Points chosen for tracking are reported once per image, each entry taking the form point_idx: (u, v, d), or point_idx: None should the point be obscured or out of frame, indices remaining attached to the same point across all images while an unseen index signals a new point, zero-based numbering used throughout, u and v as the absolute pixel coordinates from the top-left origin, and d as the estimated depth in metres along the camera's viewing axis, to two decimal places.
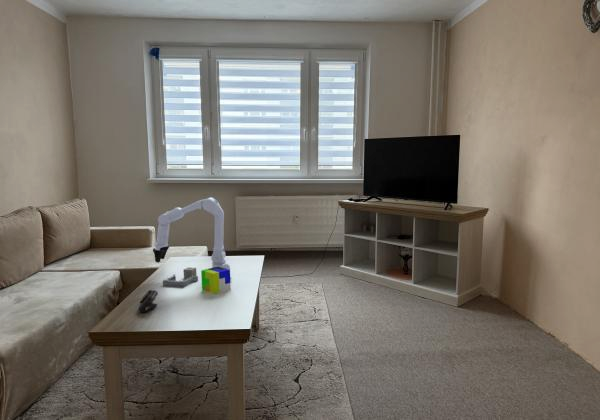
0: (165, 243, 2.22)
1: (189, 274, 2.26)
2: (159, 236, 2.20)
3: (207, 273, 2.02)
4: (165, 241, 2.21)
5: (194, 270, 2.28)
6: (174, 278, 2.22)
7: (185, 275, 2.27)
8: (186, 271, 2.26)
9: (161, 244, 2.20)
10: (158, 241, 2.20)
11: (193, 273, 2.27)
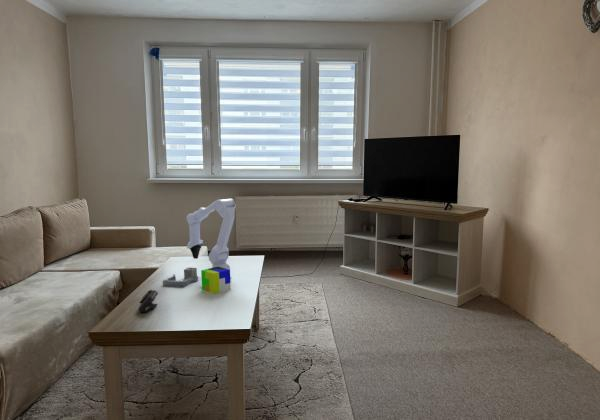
0: (197, 241, 2.32)
1: (189, 274, 2.26)
2: (190, 235, 2.31)
3: (207, 273, 2.02)
4: (197, 239, 2.31)
5: (194, 270, 2.28)
6: (174, 278, 2.22)
7: (185, 275, 2.27)
8: (186, 271, 2.26)
9: (193, 242, 2.31)
10: (190, 240, 2.32)
11: (193, 273, 2.27)
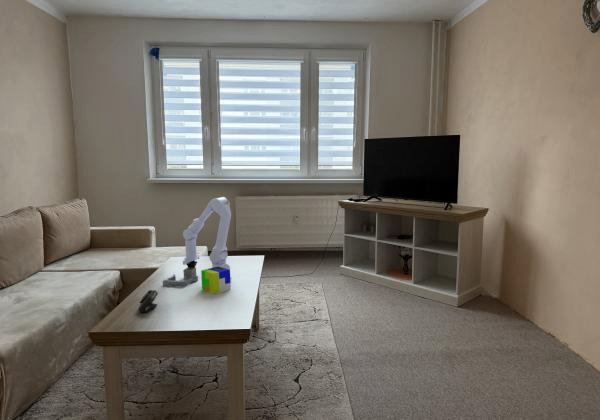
0: (193, 257, 2.28)
1: (189, 274, 2.25)
2: (186, 251, 2.27)
3: (207, 273, 2.02)
4: (193, 255, 2.28)
5: (194, 270, 2.27)
6: (174, 278, 2.22)
7: (185, 275, 2.26)
8: (186, 271, 2.25)
9: (189, 258, 2.27)
10: (186, 256, 2.28)
11: (193, 273, 2.26)
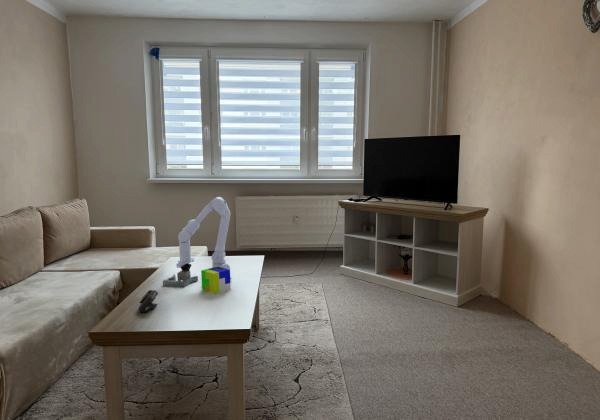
0: (187, 260, 2.22)
1: (183, 278, 2.19)
2: (180, 253, 2.21)
3: (207, 273, 2.02)
4: (187, 258, 2.21)
5: (188, 273, 2.21)
6: (174, 278, 2.22)
7: (179, 279, 2.19)
8: (180, 275, 2.19)
9: (183, 261, 2.21)
10: (180, 258, 2.21)
11: (187, 276, 2.20)
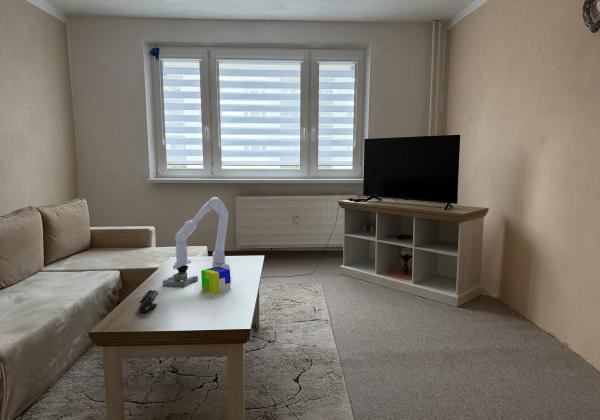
0: (184, 261, 2.18)
1: (180, 280, 2.15)
2: (177, 255, 2.18)
3: (207, 273, 2.02)
4: (184, 259, 2.18)
5: (185, 275, 2.18)
6: None
7: None
8: (176, 277, 2.15)
9: (180, 263, 2.17)
10: (177, 260, 2.18)
11: (184, 278, 2.17)
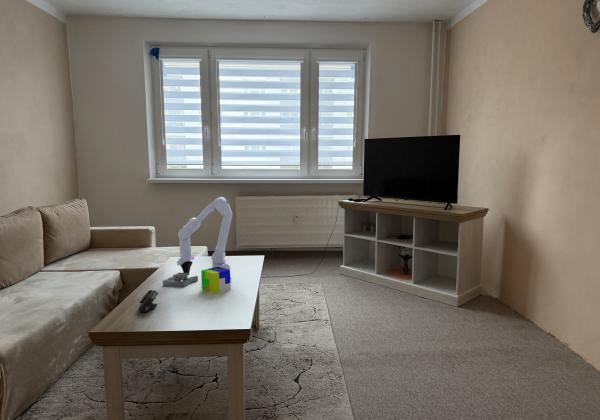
0: (188, 257, 2.22)
1: (180, 280, 2.15)
2: (181, 251, 2.21)
3: (207, 273, 2.02)
4: (187, 255, 2.21)
5: (185, 275, 2.18)
6: None
7: None
8: (177, 277, 2.16)
9: (184, 259, 2.21)
10: (181, 256, 2.22)
11: (184, 279, 2.17)
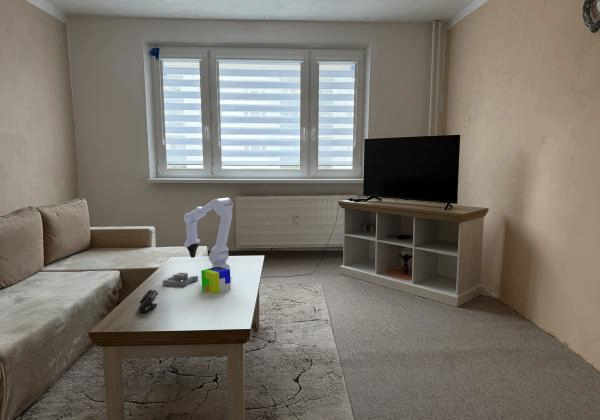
0: (194, 240, 2.33)
1: (180, 280, 2.15)
2: (187, 234, 2.32)
3: (207, 273, 2.02)
4: (194, 238, 2.32)
5: (185, 275, 2.17)
6: None
7: None
8: (177, 277, 2.15)
9: (190, 241, 2.32)
10: (187, 239, 2.32)
11: (184, 279, 2.16)
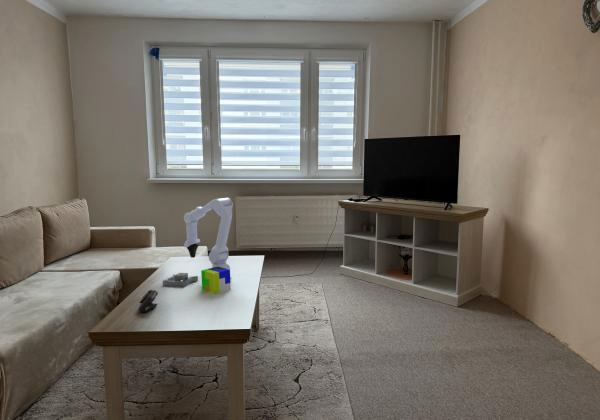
0: (194, 240, 2.33)
1: (180, 280, 2.15)
2: (187, 234, 2.32)
3: (207, 273, 2.02)
4: (194, 238, 2.32)
5: (186, 276, 2.17)
6: (174, 278, 2.22)
7: None
8: (177, 277, 2.15)
9: (190, 241, 2.32)
10: (187, 239, 2.32)
11: (185, 279, 2.16)
